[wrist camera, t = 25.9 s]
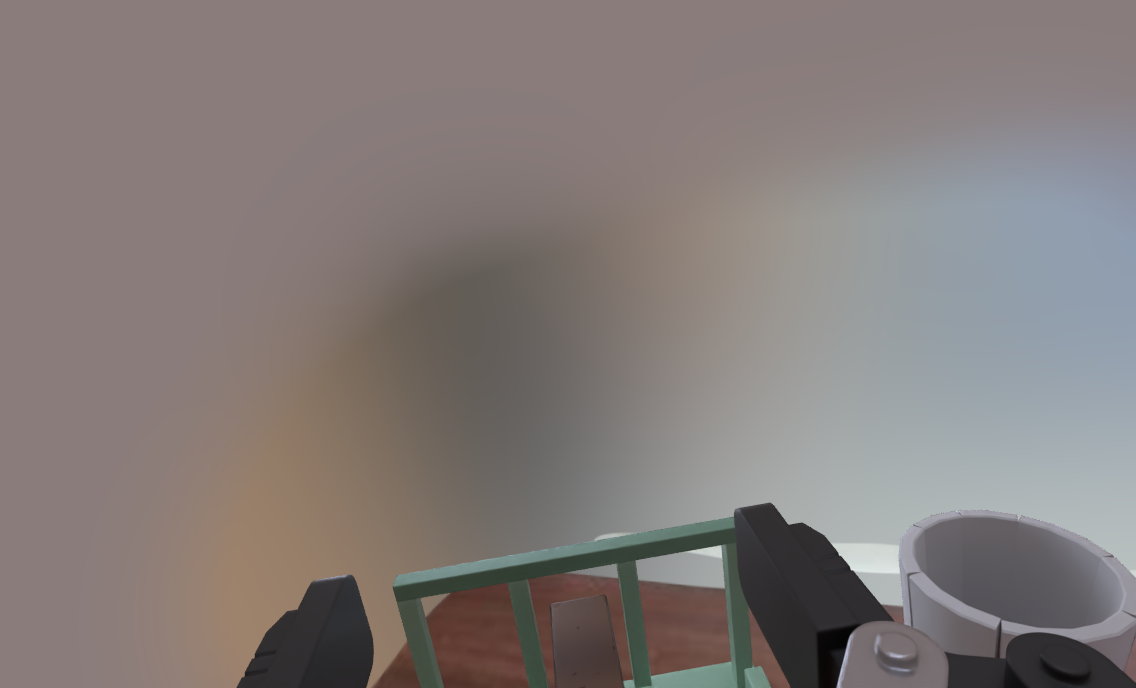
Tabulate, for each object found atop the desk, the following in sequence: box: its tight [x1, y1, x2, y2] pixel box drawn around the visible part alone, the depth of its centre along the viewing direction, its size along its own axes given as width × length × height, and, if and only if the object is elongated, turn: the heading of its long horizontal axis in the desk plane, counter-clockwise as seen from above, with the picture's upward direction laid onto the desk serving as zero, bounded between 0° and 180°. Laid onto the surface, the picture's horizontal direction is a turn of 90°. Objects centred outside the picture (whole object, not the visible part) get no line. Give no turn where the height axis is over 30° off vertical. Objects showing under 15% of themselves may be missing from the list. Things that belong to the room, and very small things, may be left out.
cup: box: [899, 510, 1136, 672], centre depth 28 cm, size 10×9×12 cm
